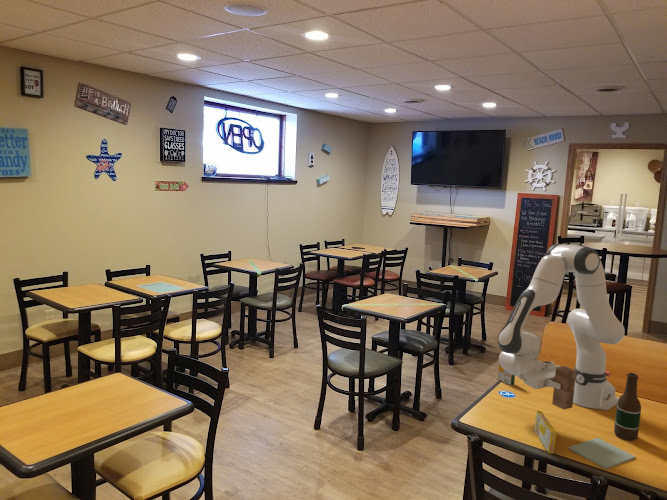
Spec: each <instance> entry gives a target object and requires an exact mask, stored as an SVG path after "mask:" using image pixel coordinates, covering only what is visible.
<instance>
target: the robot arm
mask: <svg viewBox="0 0 667 500" xmlns="http://www.w3.org/2000/svg"><path fill="white" fill-rule="evenodd" d="M567 273H574V274H575V275H574V278H575V287H576V297H577V298H576V299H577V302H578V303H579V304H580V305H581V307H582V308H574V309H572V310H571V311H570V312H569V314H568V315H567V319H566V323H567V325H568V327H569V328H570V330H571V332H572V334H573V338H574V341H575V346H576V347H575V348H576V359H575V361H576V362H575V366H574V368H573V369H574V370H576V379H575V388H574V397H573V404H575V405H578V406H581V407H583V408H588V409H596V410H597V409H598V410H601V411H608V410H610V409H612V408H614V407H615V406H617V402H618V399H619V398H620V397H618V396H616V388H615V386H613V384H612V383H611V382H610V381H608V379H607V377H611V375H612V373H611V371H608V370H606V362H607V354H606V351H605V350H604V349H603V347H602V345H601V344H607V345H617V344H619V343H621V341H623V339H624V337H625V332H626V331H625V327H624V324H622V323H621V321H620V320H619V318H617V317H616V315H615V313H614V311H613V310H612V307H611V305H610V301H609V297H608V292H607V283H606V275H605V274H606V273H605V270H604V267H603V264H602V261H601V259H600V255H599V254H598V252H597V250H595V249H593V248H591V247H588V246H582V245H577V244H566V243H555V244H552V245H551V246H550V247H549V248H548V249H547V251H546V254H545V255H544V256H543V257H541V259H540V261H539V263H538V264H537V266H536V268H535V271H534V272H533V275H532V278H531V280H530V283H529V285H528V287H527V288H526V289H525V290H523V291H522V292H521V293H520V296H519V297H518V299H517V301H516V302H515V305H514V306H513V308H512V311H511V312H510V314H509V317H508V319H507V321H506V323H505V324H504V326H503V327H502V328H501V330H500V331H499V332H498V335H497V344H498V347H499V349H500V350H501V352H500V354H499V356H498V364H499V363H500V365H501V367H502V368H503V369H504V370H506V371H507V372H509V373H511V374H513V375H515V377H518V378H519V380H521V381H523V384H525V385H526V386H527V387H530V388H532V389H535V390H539V389H544V388H548V387H549V388H553V389H554V388H557V389H562V384H560V383H556V382H555V372H556V367H561V366H562V365H557V364H555V363H554V362H553V361H548V360H547V361H546V360H545V361H544V360H539V359H538V360H537V358H538V355H539V353H540V350H541V346H542V345H541V340H540V338H539V337H538V335H536V334H535V333H531V332H529V331H524V330H523V327H524V325H525V323H526V321H527V319H528V317H529V315H530V313H531V311H533V309H535V308H537V307H540V306H546V305H549V304H551V303H553V302H554V301H556V300H557V298H558V296H559V295H560V291H561V289H562V285H563V284H564V283H563V282H564V278H565V275H566V274H567Z"/></svg>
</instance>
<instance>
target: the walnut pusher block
mask: <svg viewBox="0 0 667 500" xmlns="http://www.w3.org/2000/svg"><path fill="white" fill-rule="evenodd" d="M560 366H561V367H556V372H555V382H556V383H560V384H562V389H557V388H553V394H552V403H551V404H552V406H553V405H554V406H556V408H557V407H558V408H560V409H562V410H564V411H566V410H569V409H571V408H572V409H573V405H574V403H573V397H574V388H575V379H576V370H574V368H572V367H569V366H567V365H560Z"/></svg>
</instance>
